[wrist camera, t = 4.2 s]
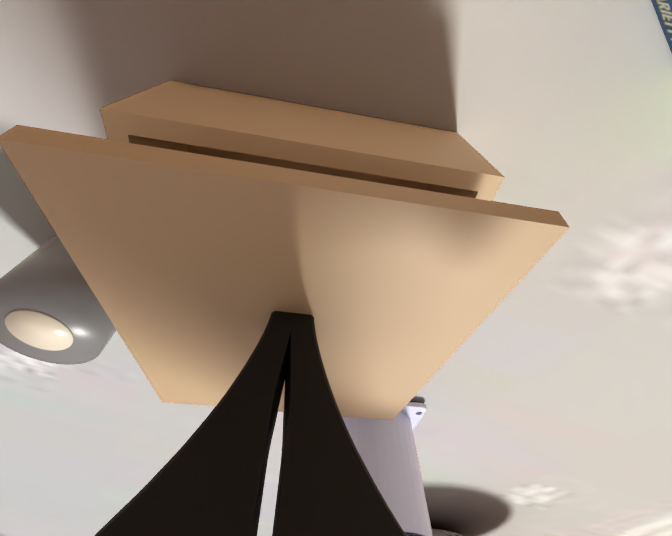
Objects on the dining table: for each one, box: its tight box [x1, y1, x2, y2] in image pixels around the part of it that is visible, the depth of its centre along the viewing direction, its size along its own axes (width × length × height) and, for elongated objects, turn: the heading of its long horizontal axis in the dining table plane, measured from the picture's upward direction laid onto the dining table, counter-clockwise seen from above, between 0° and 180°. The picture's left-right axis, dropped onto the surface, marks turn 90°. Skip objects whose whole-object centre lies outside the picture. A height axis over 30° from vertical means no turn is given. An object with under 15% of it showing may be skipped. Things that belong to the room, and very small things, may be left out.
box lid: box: [0, 125, 569, 420], centre depth 13 cm, size 14×12×1 cm
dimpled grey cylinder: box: [0, 234, 116, 364], centre depth 16 cm, size 5×5×5 cm
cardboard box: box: [100, 80, 504, 201], centre depth 16 cm, size 14×12×5 cm
